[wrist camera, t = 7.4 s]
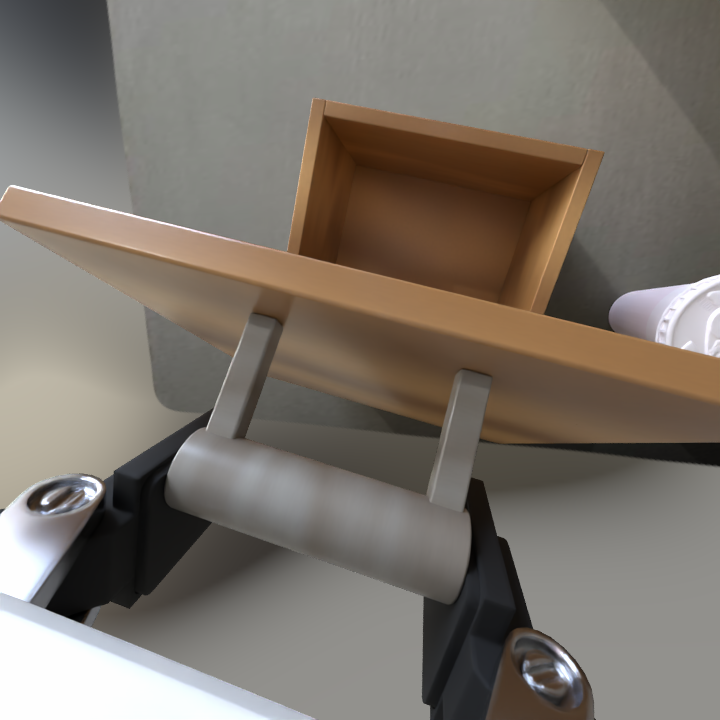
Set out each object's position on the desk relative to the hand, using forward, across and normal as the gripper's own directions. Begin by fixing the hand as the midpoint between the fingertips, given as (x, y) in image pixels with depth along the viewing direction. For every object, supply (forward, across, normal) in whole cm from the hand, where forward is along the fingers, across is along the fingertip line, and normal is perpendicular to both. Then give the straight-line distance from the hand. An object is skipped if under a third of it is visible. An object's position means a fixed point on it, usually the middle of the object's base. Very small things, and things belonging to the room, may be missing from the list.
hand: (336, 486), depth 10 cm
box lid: (+5, 0, -2) cm, 6 cm away
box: (+23, 0, -6) cm, 24 cm away
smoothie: (+23, -18, -7) cm, 30 cm away
